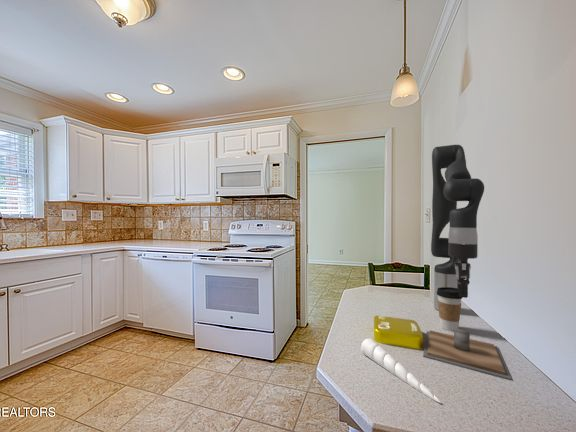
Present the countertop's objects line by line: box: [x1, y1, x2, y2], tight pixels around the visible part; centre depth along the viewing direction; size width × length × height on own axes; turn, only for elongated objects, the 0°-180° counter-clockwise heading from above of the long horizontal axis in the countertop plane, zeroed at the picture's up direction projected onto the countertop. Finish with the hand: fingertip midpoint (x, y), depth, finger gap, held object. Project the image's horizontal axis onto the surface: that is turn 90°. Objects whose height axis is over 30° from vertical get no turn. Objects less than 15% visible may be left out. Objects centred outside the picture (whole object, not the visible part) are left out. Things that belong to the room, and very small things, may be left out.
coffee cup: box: [437, 287, 464, 332], centre depth 96 cm, size 8×8×15 cm
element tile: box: [373, 315, 424, 350], centre depth 88 cm, size 15×15×5 cm
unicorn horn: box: [360, 337, 442, 404], centre depth 66 cm, size 5×24×5 cm, turn 21°
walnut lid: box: [427, 328, 505, 375], centre depth 78 cm, size 18×18×6 cm
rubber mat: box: [422, 330, 512, 381], centre depth 78 cm, size 20×20×1 cm
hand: (462, 293), depth 79 cm, fingers open, 8 cm apart
